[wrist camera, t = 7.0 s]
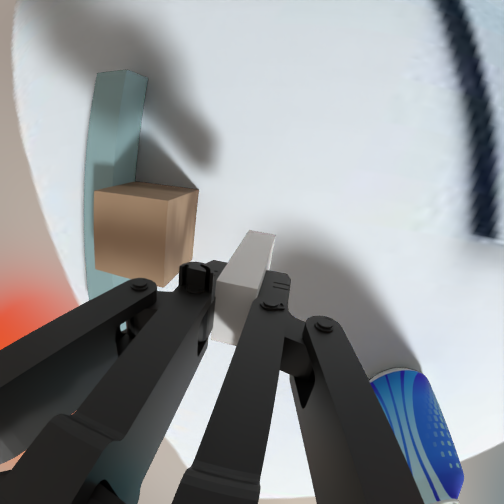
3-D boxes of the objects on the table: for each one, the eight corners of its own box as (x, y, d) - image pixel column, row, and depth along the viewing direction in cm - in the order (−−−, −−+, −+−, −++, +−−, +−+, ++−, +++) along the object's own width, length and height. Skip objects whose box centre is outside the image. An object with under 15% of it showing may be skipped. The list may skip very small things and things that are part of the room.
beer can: (344, 379, 27) (355, 523, 12) (421, 349, 25) (476, 482, 10) (362, 424, 29) (372, 543, 14) (428, 399, 26) (464, 512, 11)
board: (120, 80, 21) (97, 73, 18) (148, 78, 21) (127, 69, 18) (111, 317, 29) (93, 334, 26) (134, 325, 29) (118, 343, 26)
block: (135, 181, 24) (94, 190, 18) (199, 189, 23) (168, 200, 18) (132, 246, 26) (95, 269, 20) (192, 258, 25) (163, 287, 20)
